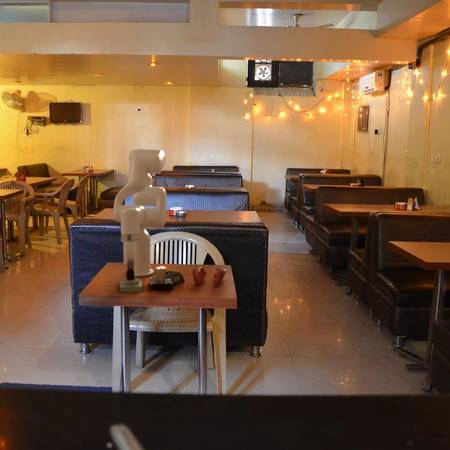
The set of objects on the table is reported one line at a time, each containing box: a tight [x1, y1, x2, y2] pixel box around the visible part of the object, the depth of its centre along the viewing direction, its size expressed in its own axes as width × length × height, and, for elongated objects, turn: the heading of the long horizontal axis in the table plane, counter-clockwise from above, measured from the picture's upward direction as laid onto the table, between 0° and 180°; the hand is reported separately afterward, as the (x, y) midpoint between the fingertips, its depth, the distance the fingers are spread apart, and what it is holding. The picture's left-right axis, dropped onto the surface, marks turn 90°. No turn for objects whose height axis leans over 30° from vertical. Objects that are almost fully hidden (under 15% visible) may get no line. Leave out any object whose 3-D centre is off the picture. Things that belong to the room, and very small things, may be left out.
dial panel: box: [149, 276, 173, 292], centre depth 225 cm, size 11×9×3 cm
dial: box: [155, 266, 167, 281], centre depth 224 cm, size 4×4×6 cm
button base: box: [119, 277, 143, 293], centre depth 221 cm, size 10×9×4 cm
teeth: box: [192, 266, 227, 287], centre depth 232 cm, size 10×8×15 cm
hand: (130, 279), depth 221 cm, fingers closed
